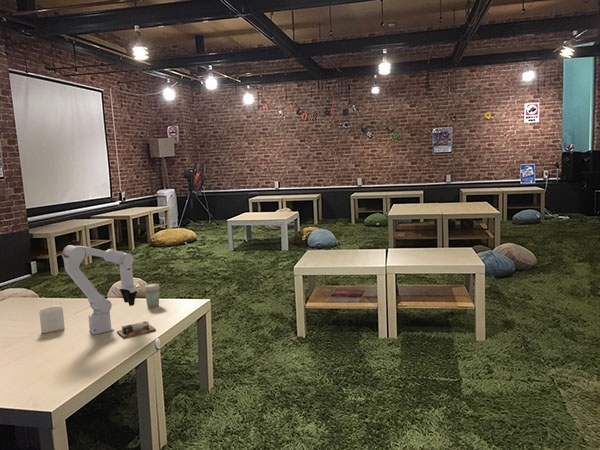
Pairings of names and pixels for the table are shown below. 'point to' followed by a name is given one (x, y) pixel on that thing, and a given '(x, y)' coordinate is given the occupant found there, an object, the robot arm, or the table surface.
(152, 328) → the tool board
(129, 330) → the lever door handle
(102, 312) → the robot arm
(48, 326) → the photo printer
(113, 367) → the table surface
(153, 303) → the coffee cup
